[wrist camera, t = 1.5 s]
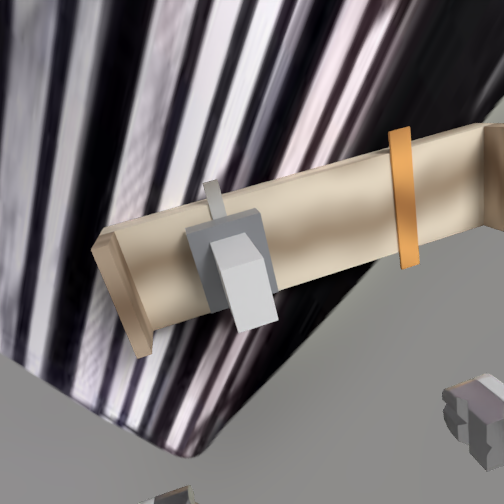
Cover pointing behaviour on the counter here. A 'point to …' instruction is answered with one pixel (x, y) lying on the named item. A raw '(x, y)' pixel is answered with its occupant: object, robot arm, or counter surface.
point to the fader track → (312, 222)
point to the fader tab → (236, 267)
